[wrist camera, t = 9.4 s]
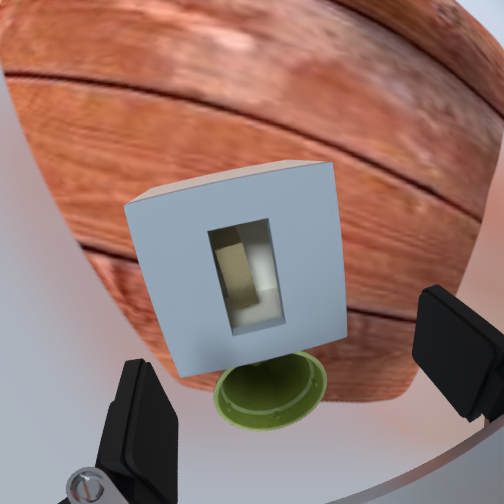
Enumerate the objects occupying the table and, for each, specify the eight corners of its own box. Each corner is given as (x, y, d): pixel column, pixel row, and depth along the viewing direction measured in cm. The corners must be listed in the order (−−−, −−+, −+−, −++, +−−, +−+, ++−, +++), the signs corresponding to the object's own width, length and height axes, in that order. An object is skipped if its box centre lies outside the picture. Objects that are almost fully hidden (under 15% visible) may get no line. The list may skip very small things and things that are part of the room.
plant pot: (249, 281, 29) (268, 328, 21) (316, 329, 32) (348, 379, 24) (191, 347, 31) (190, 406, 22) (259, 386, 33) (274, 442, 25)
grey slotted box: (151, 187, 25) (123, 205, 16) (287, 159, 26) (332, 162, 17) (185, 311, 29) (180, 377, 20) (305, 283, 30) (347, 336, 21)
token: (212, 233, 27) (214, 250, 22) (235, 226, 27) (242, 242, 22) (228, 285, 28) (234, 310, 24) (250, 278, 28) (259, 303, 24)
